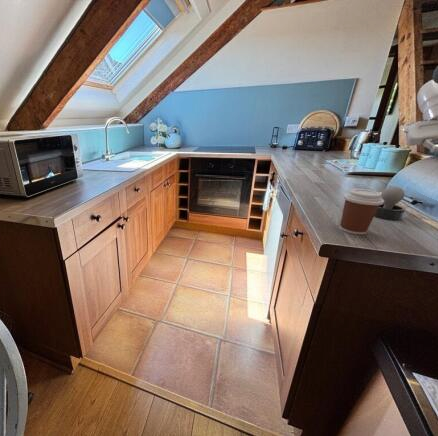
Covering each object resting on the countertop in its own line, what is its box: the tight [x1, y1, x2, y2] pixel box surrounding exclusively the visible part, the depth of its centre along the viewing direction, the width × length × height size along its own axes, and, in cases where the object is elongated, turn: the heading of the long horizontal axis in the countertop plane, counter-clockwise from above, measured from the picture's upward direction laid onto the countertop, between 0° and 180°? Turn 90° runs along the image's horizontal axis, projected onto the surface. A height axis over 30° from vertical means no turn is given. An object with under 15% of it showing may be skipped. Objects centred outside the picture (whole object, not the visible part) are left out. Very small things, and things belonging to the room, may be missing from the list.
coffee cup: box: [339, 188, 384, 235], centre depth 72 cm, size 9×9×12 cm
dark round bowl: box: [374, 203, 406, 221], centre depth 83 cm, size 8×8×4 cm
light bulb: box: [380, 186, 406, 210], centre depth 82 cm, size 6×5×10 cm
